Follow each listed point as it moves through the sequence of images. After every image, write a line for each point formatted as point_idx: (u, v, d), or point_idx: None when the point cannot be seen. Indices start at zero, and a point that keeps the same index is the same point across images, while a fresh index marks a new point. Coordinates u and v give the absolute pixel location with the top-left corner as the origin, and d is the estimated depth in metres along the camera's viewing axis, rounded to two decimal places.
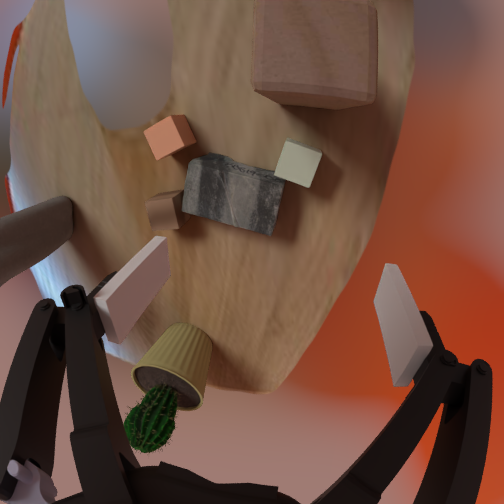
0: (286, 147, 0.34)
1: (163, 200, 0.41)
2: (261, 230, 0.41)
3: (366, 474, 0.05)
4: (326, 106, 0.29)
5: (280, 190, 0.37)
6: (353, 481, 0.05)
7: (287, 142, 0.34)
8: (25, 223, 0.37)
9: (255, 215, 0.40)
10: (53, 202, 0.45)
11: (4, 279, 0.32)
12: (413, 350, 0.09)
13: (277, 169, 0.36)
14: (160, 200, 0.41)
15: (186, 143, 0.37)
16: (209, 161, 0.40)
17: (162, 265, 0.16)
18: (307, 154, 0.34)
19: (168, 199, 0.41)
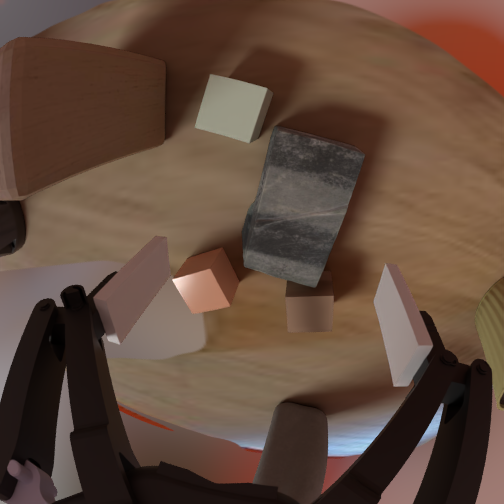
0: (204, 126, 0.22)
1: (287, 308, 0.29)
2: (355, 169, 0.22)
3: (366, 474, 0.05)
4: (130, 80, 0.18)
5: (284, 134, 0.21)
6: (353, 481, 0.05)
7: (197, 124, 0.22)
8: (269, 468, 0.33)
9: (328, 176, 0.23)
10: (272, 424, 0.41)
11: None
12: (413, 350, 0.09)
13: (239, 137, 0.22)
14: (287, 312, 0.30)
15: (211, 264, 0.30)
16: (248, 236, 0.29)
17: (162, 265, 0.16)
18: (212, 94, 0.21)
19: (287, 301, 0.29)
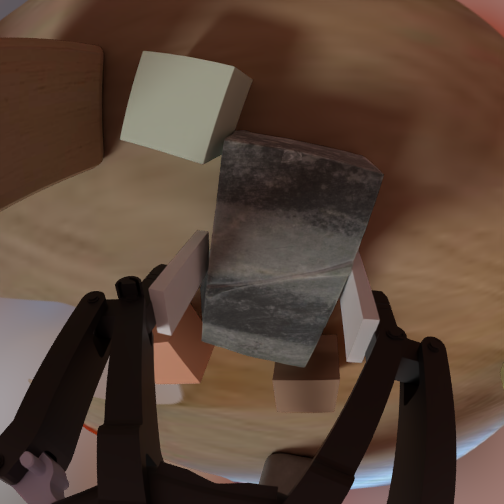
0: (133, 136, 0.13)
1: (276, 391, 0.20)
2: (366, 202, 0.12)
3: (333, 457, 0.06)
4: (31, 79, 0.09)
5: (236, 145, 0.12)
6: (321, 466, 0.05)
7: (123, 135, 0.13)
8: None
9: (319, 215, 0.13)
10: (262, 478, 0.32)
11: None
12: (360, 324, 0.11)
13: (187, 154, 0.13)
14: (276, 394, 0.20)
15: None
16: None
17: (204, 258, 0.17)
18: (145, 83, 0.11)
19: (275, 384, 0.20)
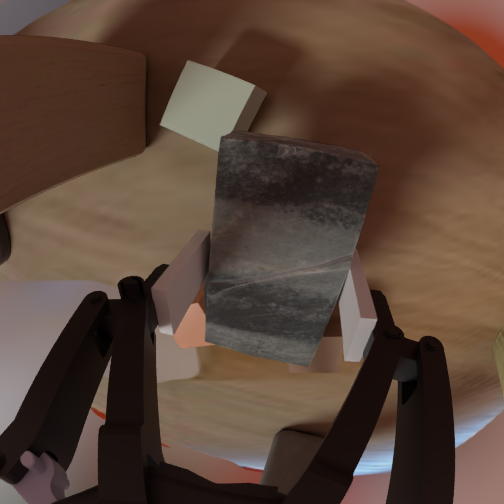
0: (171, 124, 0.17)
1: None
2: (362, 193, 0.12)
3: (332, 457, 0.06)
4: (95, 77, 0.14)
5: (232, 142, 0.12)
6: (320, 466, 0.05)
7: (163, 122, 0.17)
8: None
9: (316, 209, 0.13)
10: (271, 454, 0.36)
11: None
12: (357, 323, 0.11)
13: (210, 144, 0.17)
14: None
15: (199, 296, 0.25)
16: None
17: (206, 258, 0.17)
18: (186, 85, 0.16)
19: None
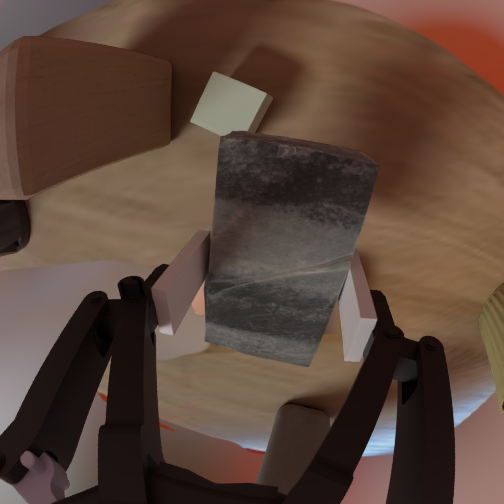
0: (199, 122, 0.22)
1: None
2: (362, 193, 0.12)
3: (332, 457, 0.06)
4: (136, 80, 0.19)
5: (232, 142, 0.12)
6: (320, 466, 0.05)
7: (193, 119, 0.22)
8: (272, 469, 0.33)
9: (316, 209, 0.13)
10: (275, 426, 0.41)
11: None
12: (357, 323, 0.11)
13: None
14: None
15: None
16: None
17: (206, 258, 0.17)
18: (212, 91, 0.21)
19: None
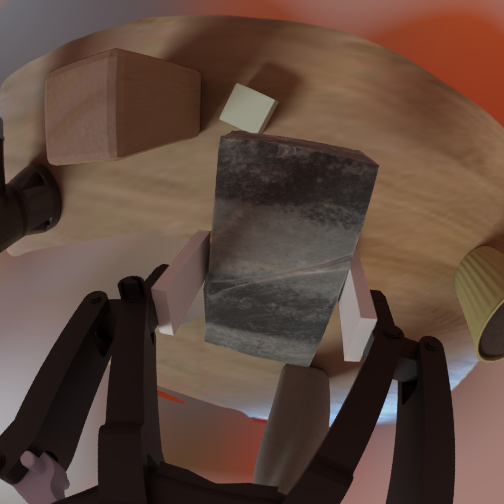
0: (226, 119, 0.31)
1: None
2: (362, 194, 0.12)
3: (332, 456, 0.06)
4: (181, 86, 0.27)
5: (232, 142, 0.12)
6: (319, 466, 0.05)
7: (221, 117, 0.31)
8: (279, 418, 0.42)
9: (317, 209, 0.13)
10: (280, 381, 0.50)
11: None
12: (357, 323, 0.11)
13: (249, 131, 0.31)
14: None
15: None
16: None
17: (206, 258, 0.17)
18: (236, 97, 0.29)
19: None
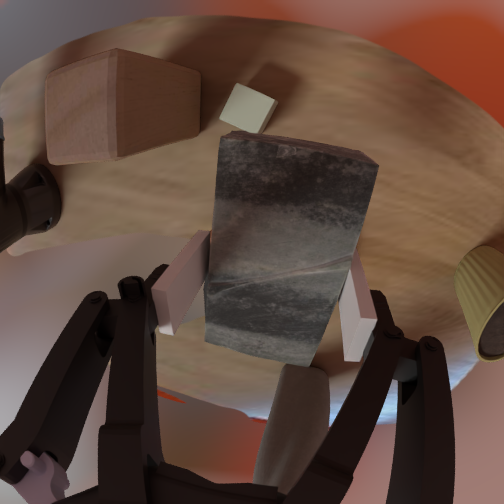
0: (226, 119, 0.31)
1: None
2: (362, 193, 0.12)
3: (332, 456, 0.06)
4: (181, 86, 0.27)
5: (232, 142, 0.12)
6: (320, 466, 0.05)
7: (221, 117, 0.31)
8: (279, 417, 0.42)
9: (317, 209, 0.13)
10: (280, 381, 0.50)
11: None
12: (357, 323, 0.11)
13: (249, 131, 0.31)
14: None
15: None
16: None
17: (206, 258, 0.17)
18: (235, 97, 0.29)
19: None
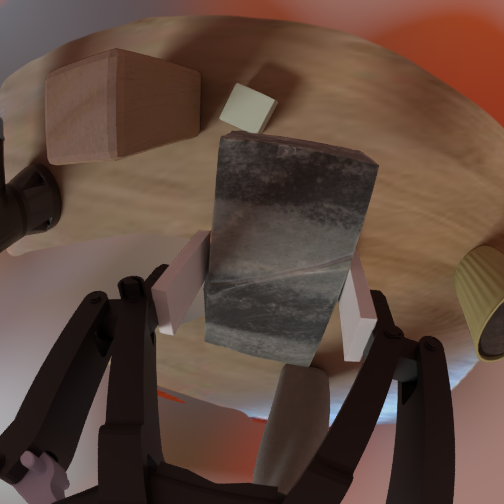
0: (226, 119, 0.31)
1: None
2: (362, 194, 0.12)
3: (332, 456, 0.06)
4: (181, 86, 0.27)
5: (232, 142, 0.12)
6: (320, 466, 0.05)
7: (221, 117, 0.31)
8: (279, 417, 0.42)
9: (317, 209, 0.13)
10: (280, 381, 0.50)
11: None
12: (357, 323, 0.11)
13: (249, 131, 0.31)
14: None
15: None
16: None
17: (206, 258, 0.17)
18: (235, 97, 0.29)
19: None
